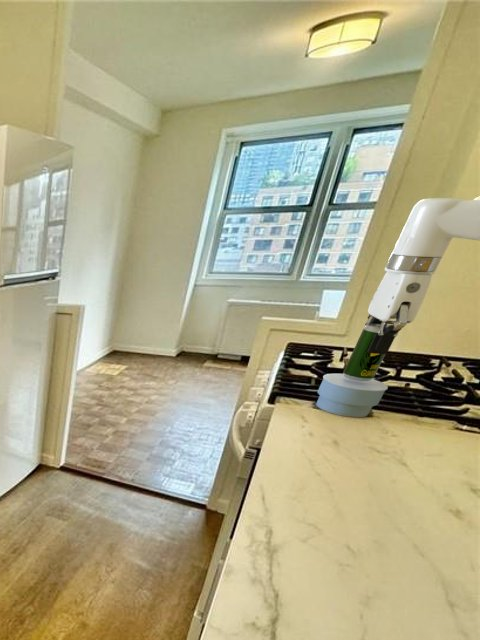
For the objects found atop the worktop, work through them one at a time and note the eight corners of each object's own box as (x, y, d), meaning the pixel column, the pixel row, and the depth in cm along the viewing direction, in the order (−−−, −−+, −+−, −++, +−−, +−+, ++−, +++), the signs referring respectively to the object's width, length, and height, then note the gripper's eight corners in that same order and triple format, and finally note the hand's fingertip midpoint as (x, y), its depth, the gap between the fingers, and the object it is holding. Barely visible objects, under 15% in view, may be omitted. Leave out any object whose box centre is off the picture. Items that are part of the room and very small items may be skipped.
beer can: (335, 374, 114) (359, 323, 109) (354, 373, 115) (378, 322, 109) (359, 382, 110) (385, 329, 104) (378, 380, 110) (405, 328, 105)
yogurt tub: (362, 404, 119) (375, 377, 115) (382, 422, 110) (397, 393, 106) (305, 397, 123) (316, 371, 119) (319, 414, 114) (332, 386, 110)
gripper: (459, 271, 92) (410, 362, 101) (415, 260, 106) (376, 341, 115) (407, 269, 95) (364, 358, 104) (371, 259, 109) (336, 338, 117)
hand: (371, 348), depth 109 cm, fingers closed on beer can, 5 cm apart
